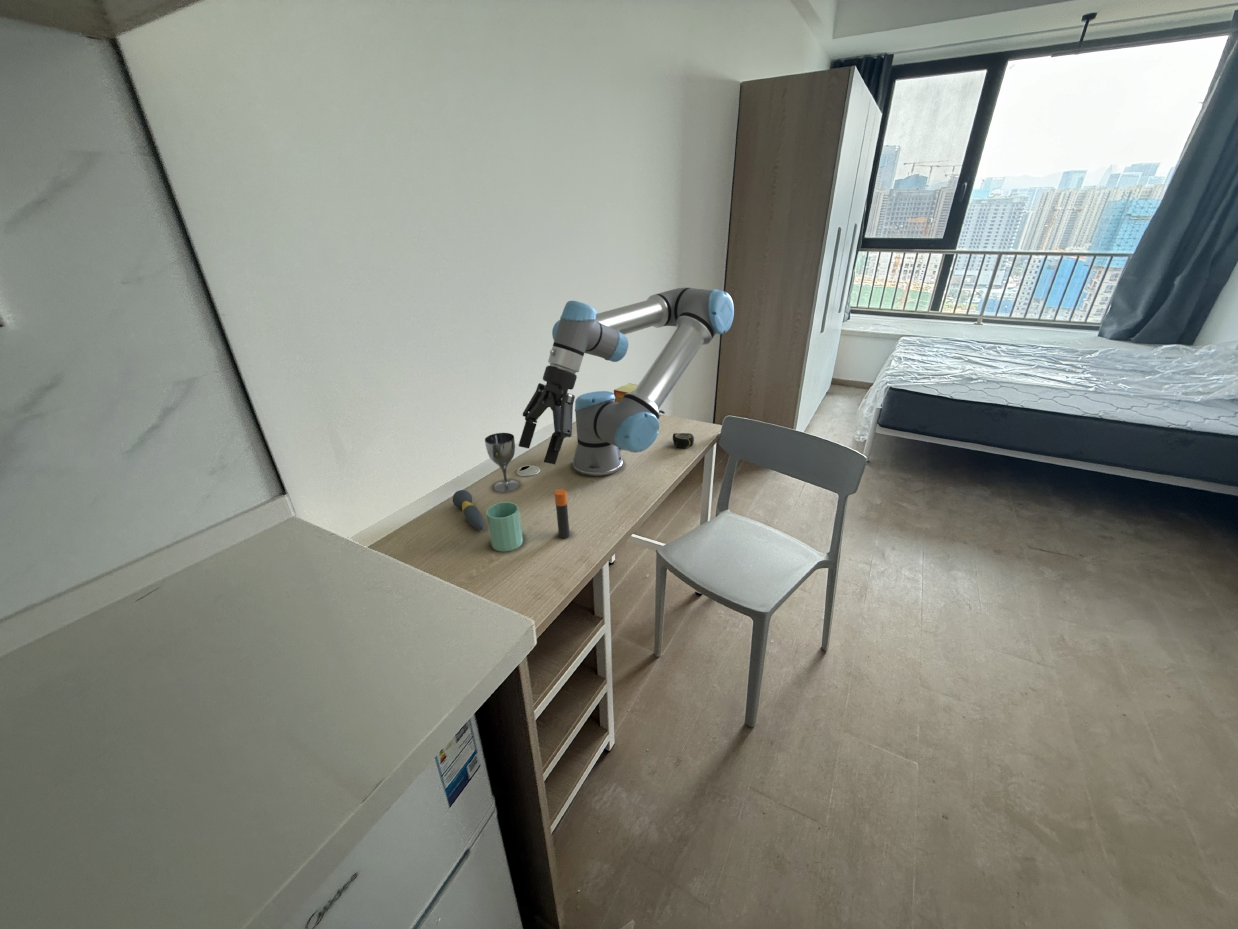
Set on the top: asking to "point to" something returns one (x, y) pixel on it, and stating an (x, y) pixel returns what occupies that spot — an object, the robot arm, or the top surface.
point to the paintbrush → (468, 508)
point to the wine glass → (502, 457)
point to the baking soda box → (623, 391)
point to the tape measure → (683, 439)
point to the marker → (562, 513)
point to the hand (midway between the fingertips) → (535, 455)
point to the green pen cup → (504, 526)
